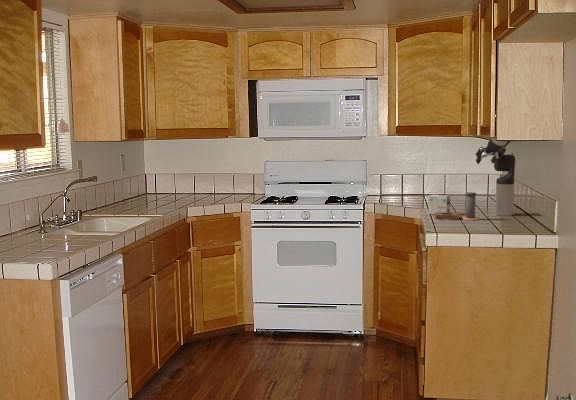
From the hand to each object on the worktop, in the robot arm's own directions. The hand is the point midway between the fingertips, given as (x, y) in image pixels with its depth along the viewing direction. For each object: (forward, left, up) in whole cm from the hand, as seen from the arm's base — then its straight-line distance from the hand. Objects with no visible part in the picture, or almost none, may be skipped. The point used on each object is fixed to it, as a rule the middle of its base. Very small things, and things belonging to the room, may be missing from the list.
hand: (484, 162), depth 320 cm
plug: (-11, -5, -30) cm, 32 cm away
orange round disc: (-11, -5, -31) cm, 33 cm away
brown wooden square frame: (-14, -17, -31) cm, 38 cm away
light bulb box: (-30, -20, -31) cm, 48 cm away
